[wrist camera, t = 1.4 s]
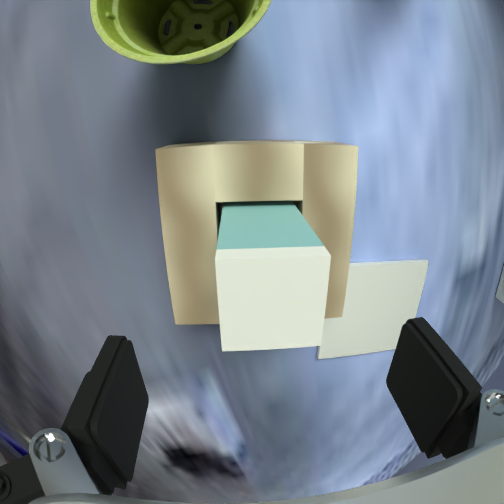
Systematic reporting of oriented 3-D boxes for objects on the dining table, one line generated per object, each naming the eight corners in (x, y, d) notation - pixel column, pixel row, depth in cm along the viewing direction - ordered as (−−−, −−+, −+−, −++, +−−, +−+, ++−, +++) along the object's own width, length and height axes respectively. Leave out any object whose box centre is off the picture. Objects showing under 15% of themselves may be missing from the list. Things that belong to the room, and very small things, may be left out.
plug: (284, 191, 23) (331, 255, 12) (284, 247, 25) (320, 345, 14) (224, 193, 23) (214, 259, 12) (227, 249, 24) (222, 351, 13)
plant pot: (130, 87, 20) (77, 71, 12) (145, -18, 16) (109, -69, 8) (255, 89, 20) (267, 67, 12) (266, -18, 17) (281, -77, 9)
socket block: (333, 141, 22) (358, 146, 18) (325, 284, 27) (342, 317, 22) (171, 144, 22) (155, 149, 17) (184, 290, 26) (175, 324, 22)
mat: (425, 259, 26) (428, 261, 26) (404, 343, 30) (406, 347, 30) (327, 263, 26) (329, 266, 25) (316, 355, 30) (318, 359, 29)
